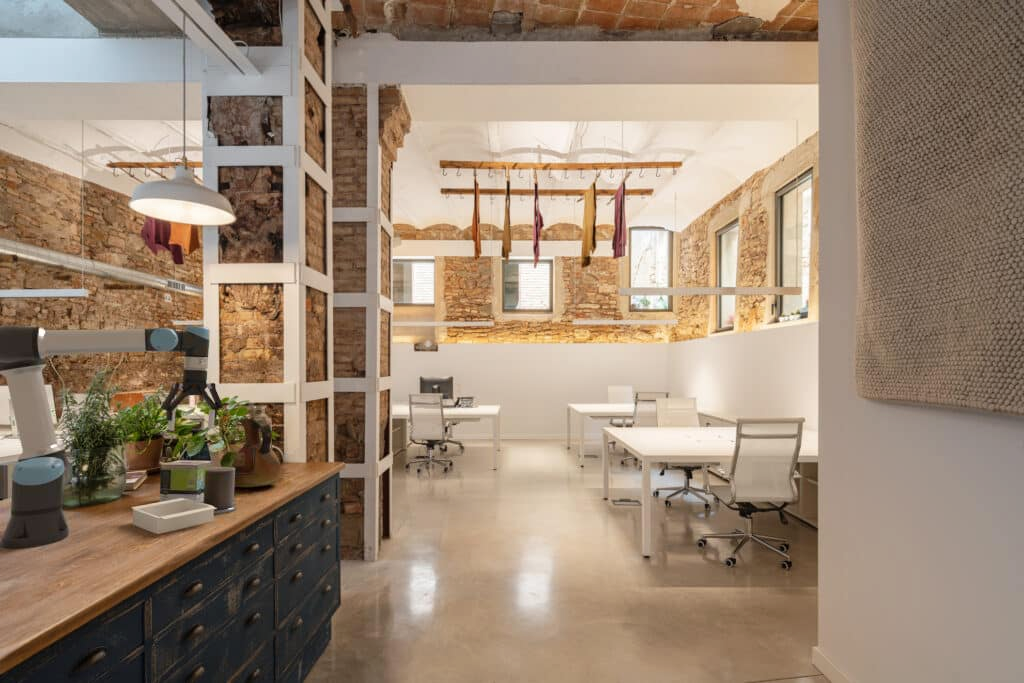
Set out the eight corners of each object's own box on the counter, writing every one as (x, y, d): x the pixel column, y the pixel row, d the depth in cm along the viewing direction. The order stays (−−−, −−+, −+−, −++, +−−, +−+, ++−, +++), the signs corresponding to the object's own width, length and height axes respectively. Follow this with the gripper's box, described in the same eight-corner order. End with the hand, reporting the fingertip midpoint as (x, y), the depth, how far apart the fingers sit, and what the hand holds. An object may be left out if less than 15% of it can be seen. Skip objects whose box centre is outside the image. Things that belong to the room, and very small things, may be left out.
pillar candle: (208, 512, 193) (210, 468, 194) (199, 506, 200) (201, 464, 201) (237, 507, 200) (239, 465, 201) (228, 502, 207) (229, 461, 208)
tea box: (213, 498, 217) (214, 460, 218) (195, 504, 207) (197, 464, 208) (177, 497, 219) (178, 459, 219) (158, 503, 209) (159, 463, 209)
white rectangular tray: (162, 535, 170) (162, 519, 170) (128, 523, 183) (129, 507, 183) (218, 522, 184) (218, 507, 184) (183, 511, 197) (183, 497, 197)
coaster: (210, 516, 192) (210, 513, 192) (192, 511, 198) (192, 508, 198) (243, 509, 202) (243, 506, 202) (225, 504, 208) (225, 501, 208)
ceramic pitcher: (258, 480, 251) (260, 413, 252) (291, 484, 242) (293, 415, 243) (219, 488, 233) (221, 417, 234) (252, 494, 224) (254, 419, 225)
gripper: (162, 368, 187) (158, 432, 186) (235, 370, 207) (231, 427, 206) (152, 368, 191) (148, 430, 190) (224, 369, 212) (220, 425, 211)
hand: (191, 429), depth 198 cm, fingers open, 13 cm apart
